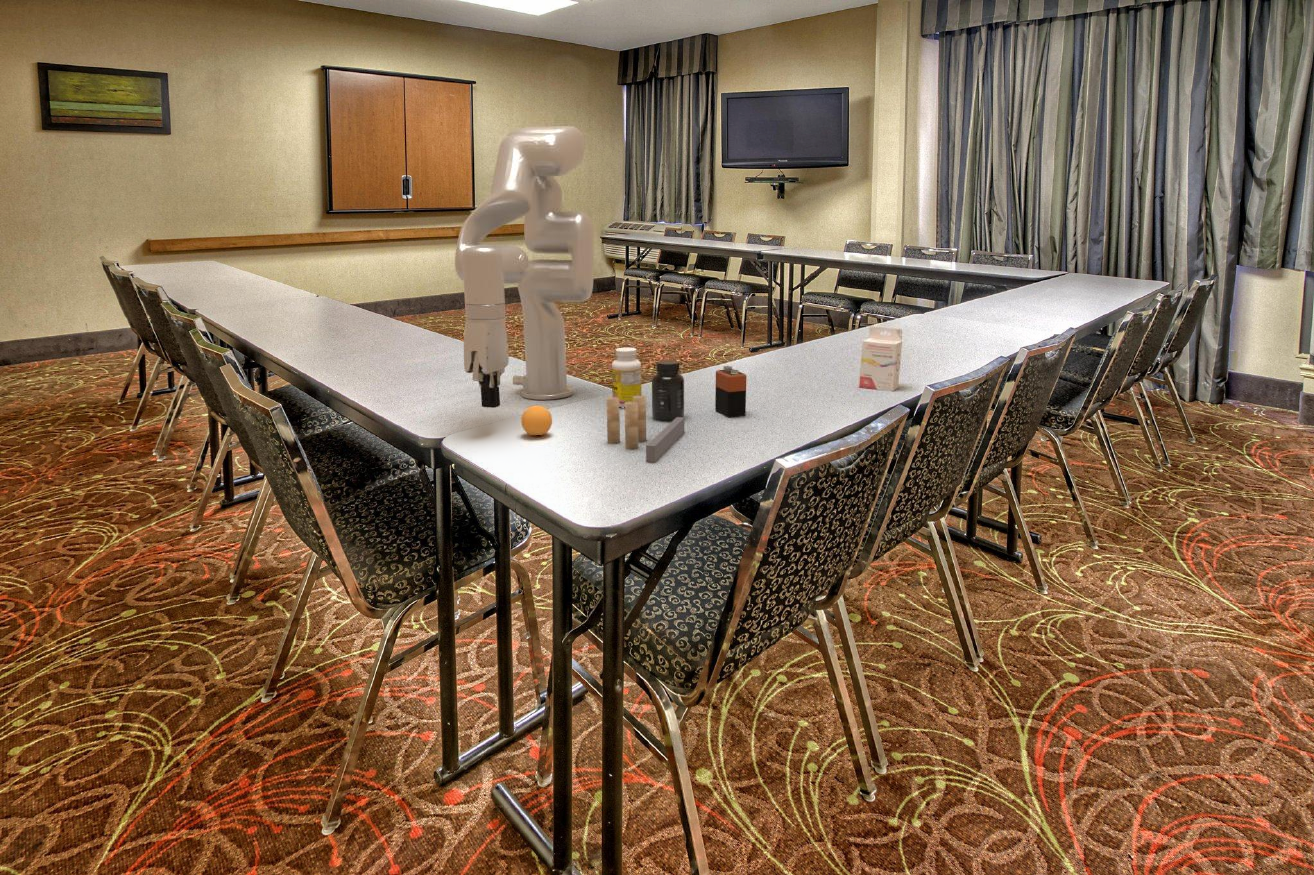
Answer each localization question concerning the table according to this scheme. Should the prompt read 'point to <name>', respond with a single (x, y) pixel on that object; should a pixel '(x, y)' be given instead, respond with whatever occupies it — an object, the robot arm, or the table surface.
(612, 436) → the wooden block
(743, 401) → the battery
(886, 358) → the ink cartridge box
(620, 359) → the supplement bottle
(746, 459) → the table surface
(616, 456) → the table surface
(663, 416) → the supplement bottle
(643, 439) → the pin
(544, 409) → the ball
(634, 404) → the pin
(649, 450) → the back wall
